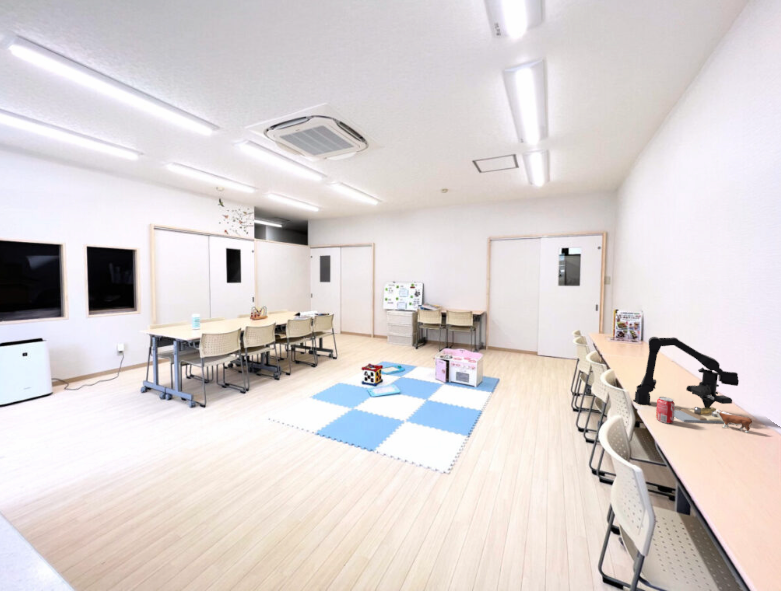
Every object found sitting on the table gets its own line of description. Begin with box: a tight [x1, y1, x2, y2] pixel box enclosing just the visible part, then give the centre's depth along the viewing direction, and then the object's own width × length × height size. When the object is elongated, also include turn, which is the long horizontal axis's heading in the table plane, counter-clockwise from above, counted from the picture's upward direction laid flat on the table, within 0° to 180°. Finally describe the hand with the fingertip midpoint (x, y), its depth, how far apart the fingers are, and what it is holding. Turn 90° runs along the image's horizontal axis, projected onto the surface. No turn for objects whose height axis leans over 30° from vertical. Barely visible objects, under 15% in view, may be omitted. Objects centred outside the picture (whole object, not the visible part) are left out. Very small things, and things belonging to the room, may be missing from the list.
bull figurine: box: [713, 409, 753, 434], centre depth 160 cm, size 4×13×8 cm, turn 44°
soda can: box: [655, 396, 676, 424], centre depth 167 cm, size 7×7×12 cm
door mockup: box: [674, 408, 732, 425], centre depth 172 cm, size 23×12×4 cm, turn 87°
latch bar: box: [693, 406, 717, 414], centre depth 173 cm, size 12×2×3 cm, turn 101°
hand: (706, 409), depth 176 cm, fingers closed
